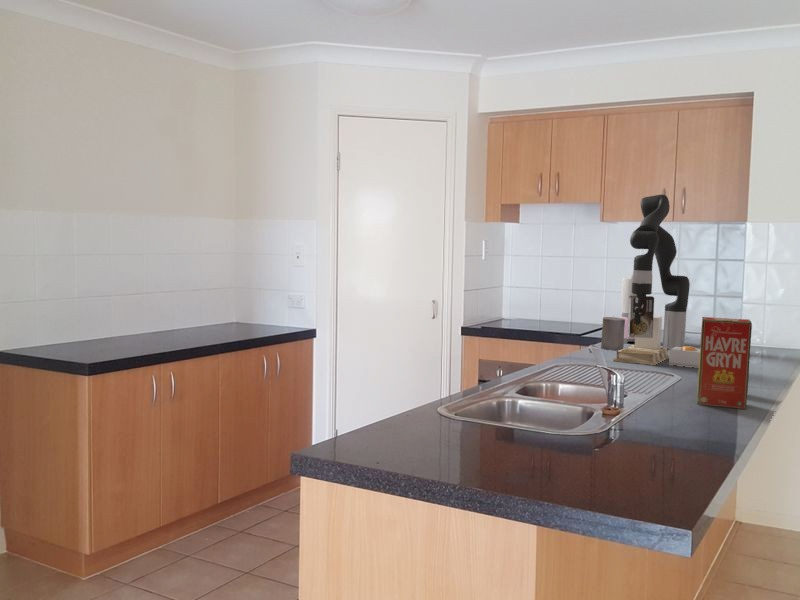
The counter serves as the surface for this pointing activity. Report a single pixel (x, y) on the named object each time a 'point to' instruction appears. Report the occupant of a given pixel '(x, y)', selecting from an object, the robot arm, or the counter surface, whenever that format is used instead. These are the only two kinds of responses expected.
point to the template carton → (651, 342)
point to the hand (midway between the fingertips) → (639, 323)
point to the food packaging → (724, 362)
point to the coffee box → (646, 318)
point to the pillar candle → (613, 333)
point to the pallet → (641, 355)
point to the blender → (626, 305)
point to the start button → (689, 348)
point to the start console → (684, 357)
